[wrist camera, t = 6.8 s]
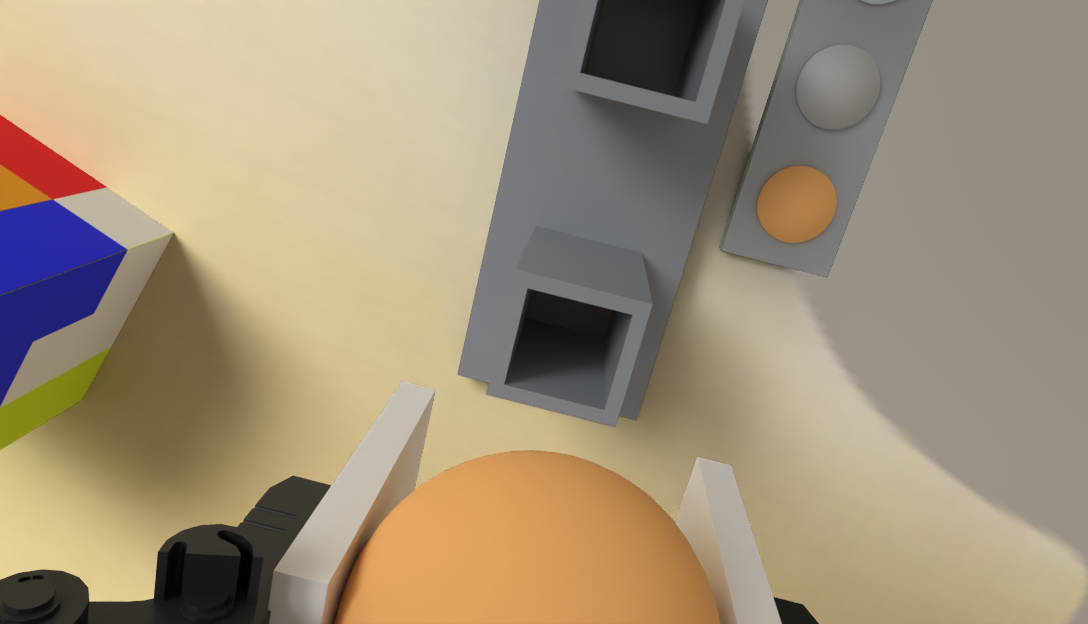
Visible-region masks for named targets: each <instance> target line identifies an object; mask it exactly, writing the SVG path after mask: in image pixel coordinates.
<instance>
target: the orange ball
mask: <svg viewBox="0 0 1088 624" xmlns="http://www.w3.org/2000/svg"><path fill="white" fill-rule="evenodd" d="M334 624H720V619H719V613H718V609H717V606H716V602H715V599H714V596H713V593H712V590H711V587H710V584H709V581H708V579H707V576H706V573H705V571H704V569H703V567H702V565H701V564H700V562H699V560H698V558H697V556H696V554H695V552H694V551H693V549H692V547H691V545H690V543H689V541H688V540H687V538H686V537H685V536H684V534H683V533H682V532H681V530H680V529H679V527H678V526H677V525H676V523H675V522H674V521H673V520H672V519H671V518H670V517H669V516H668V514H667V513H666V512H665V511H664V510H663V509H662V508H661V507H660V506H659V505H658V504H657V503H656V502H655V501H654V500H653V499H652V498H651V497H650V496H648V495H647V494H646V493H645V492H643V491H642V490H641V489H640V488H638V487H637V486H636V485H634V484H633V483H631V482H630V481H628V480H626V479H625V478H623V477H621V476H620V475H618V474H616V473H615V472H613V471H611V470H608V469H606V468H604V467H602V466H600V465H598V464H595V463H593V462H590V461H587V460H584V459H581V458H578V457H575V456H571V455H566V454H560V453H555V452H546V451H533V450H531V451H511V452H505V453H499V454H493V455H487V456H483V457H480V458H477V459H473V460H470V461H466V462H464V463H462V464H459V465H457V466H455V467H452V468H450V469H448V470H446V471H444V472H443V473H441V474H439V475H438V476H436V477H434V478H433V479H431V480H429V481H428V482H426V483H425V484H423V485H421V486H420V487H418V488H417V489H416V490H414V491H413V492H412V493H411V494H410V495H408V496H407V497H406V498H405V499H404V500H402V501H401V502H400V503H399V504H398V505H397V506H396V507H395V508H394V509H393V510H392V511H391V513H390V514H389V515H388V516H387V517H386V518H385V519H384V520H383V521H382V523H381V524H380V525H379V526H378V527H377V529H376V530H375V532H374V533H373V535H372V536H371V538H370V539H369V541H368V542H367V544H366V545H365V547H364V548H363V550H362V551H361V553H360V555H359V556H358V558H357V559H356V562H355V564H354V566H353V568H352V571H351V573H350V575H349V578H348V580H347V583H346V585H345V587H344V590H343V592H342V595H341V598H340V602H339V606H338V610H337V614H336V618H335V622H334Z"/></svg>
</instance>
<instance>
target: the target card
mask: <svg viewBox="0 0 1088 624" xmlns="http://www.w3.org/2000/svg"><path fill="white" fill-rule="evenodd" d="M932 1H933V0H800V2H799V5H798V8H797V11H796V14H795V17H794V20H793V23H792V26H791V29H790V32H789V35H788V39H787V41H786V44H785V48H784V51H783V54H782V57H781V60H780V63H779V66H778V69H777V72H776V75H775V78H774V81H773V85H772V87H771V91H770V94H769V97H768V100H767V103H766V106H765V109H764V112H763V115H762V118H761V121H760V124H759V127H758V130H757V134H756V137H755V140H754V143H753V146H752V149H751V152H750V155H749V158H748V161H747V164H746V167H745V170H744V173H743V177H742V180H741V183H740V186H739V189H738V192H737V195H736V198H735V201H734V204H733V207H732V210H731V213H730V216H729V220H728V223H727V226H726V229H725V232H724V235H723V238H722V241H721V244H720V247H719V248H720V249H721V251H725V252H728V253H732V254H736V255H740V256H744V257H748V258H752V259H756V260H760V261H764V262H768V263H772V264H776V265H780V266H784V267H787V268H791V269H795V270H799V271H803V272H808V273H811V274H816V275H819V276H823V277H828V275H829V272H830V269H831V267H832V264H833V262H834V259H835V256H836V254H837V251H838V248H839V246H840V243H841V241H842V238H843V235H844V233H845V230H846V227H847V225H848V222H849V219H850V217H851V214H852V212H853V209H854V206H855V204H856V201H857V198H858V196H859V193H860V190H861V188H862V185H863V183H864V180H865V177H866V175H867V172H868V169H869V167H870V164H871V161H872V159H873V156H874V153H875V151H876V148H877V146H878V143H879V141H880V138H881V135H882V133H883V130H884V127H885V125H886V122H887V119H888V117H889V114H890V111H891V109H892V106H893V104H894V101H895V98H896V96H897V93H898V90H899V88H900V85H901V83H902V80H903V77H904V74H905V72H906V69H907V66H908V64H909V62H910V59H911V56H912V54H913V51H914V48H915V46H916V43H917V40H918V38H919V35H920V32H921V30H922V27H923V25H924V22H925V19H926V17H927V14H928V11H929V9H930V6H931V4H932Z"/></svg>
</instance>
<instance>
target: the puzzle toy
mask: <svg viewBox="0 0 1088 624" xmlns="http://www.w3.org/2000/svg"><path fill="white" fill-rule="evenodd" d="M173 234H174V232H172V231H171V230H169V229H168V228H166V227H165V226H163V225H162V224H160V223H159V222H157V221H156V220H154V219H153V218H152V217H150V216H149V215H147V214H146V213H144V212H143V211H141V210H140V209H138V208H137V207H135V206H134V205H132V204H131V203H129V202H128V201H126V200H125V199H123V198H122V197H121V196H119V195H118V194H116V193H115V192H113V191H112V190H110V189H109V188H107V187H106V186H104V185H103V184H101V183H100V182H98V181H97V180H95V179H94V178H93V177H91V176H90V175H88V174H87V173H85V172H84V171H82V170H81V169H79V168H78V167H76V166H75V165H73V164H72V163H70V162H69V161H67V160H66V159H65V158H63V157H62V156H60V155H59V154H57V153H56V152H54V151H53V150H51V149H50V148H48V147H47V146H45V145H44V144H42V143H41V142H39V141H38V140H36V139H35V138H34V137H32V136H31V135H29V134H28V133H26V132H25V131H23V130H22V129H20V128H19V127H17V126H16V125H14V124H13V123H11V122H10V121H8V120H7V119H6V118H4V117H3V116H1V115H0V450H1V449H3V448H4V447H6V446H7V445H9V444H11V443H12V442H14V441H16V440H17V439H19V438H20V437H22V436H24V435H25V434H27V433H29V432H30V431H32V430H33V429H35V428H37V427H38V426H40V425H42V424H43V423H45V422H46V421H48V420H50V419H51V418H53V417H54V416H56V415H58V414H59V413H61V412H63V411H64V410H66V409H67V408H69V407H71V406H72V405H74V404H76V403H77V402H79V401H80V400H82V399H83V397H84V396H85V394H86V392H87V390H88V388H89V387H90V385H91V383H92V381H93V379H94V377H95V376H96V374H97V372H98V370H99V368H100V367H101V365H102V363H103V361H104V359H105V357H106V356H107V354H108V352H109V350H110V348H111V347H112V345H113V343H114V341H115V339H116V337H117V336H118V334H119V332H120V330H121V328H122V327H123V325H124V323H125V321H126V319H127V317H128V316H129V314H130V312H131V310H132V308H133V307H134V305H135V303H136V301H137V299H138V297H139V296H140V294H141V292H142V290H143V288H144V287H145V285H146V283H147V281H148V279H149V278H150V276H151V274H152V272H153V270H154V268H155V267H156V265H157V263H158V261H159V259H160V258H161V256H162V254H163V252H164V250H165V248H166V247H167V245H168V243H169V241H170V239H171V238H172V236H173Z"/></svg>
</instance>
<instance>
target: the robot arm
mask: <svg viewBox="0 0 1088 624" xmlns="http://www.w3.org/2000/svg"><path fill="white" fill-rule="evenodd" d="M435 391H436V390H435V389H431V388H427V387H423V386H419V385H415V384H412V383H408V382H404V381H402V382H401V384H400V385H399V387H398V388H397V390H396V391H395V393H394V394H393V396H392V397H391V399H390V400H389V402H388V403H387V404H386V406H385V407H384V409H383V410H382V412H381V413H380V415H379V416H378V418H377V419H376V421H375V422H374V424H373V425H372V427H371V428H370V430H369V431H368V432H367V434H366V435H365V437H364V438H363V440H362V441H361V443H360V444H359V446H358V447H357V449H356V450H355V452H354V453H353V455H352V456H351V457H350V459H349V460H348V462H347V463H346V465H345V466H344V468H343V469H342V471H341V472H340V474H339V475H338V477H337V478H336V480H335V481H334V482H333V484H332V485H327V484H323V483H319V482H316V481H312V480H308V479H304V478H300V477H296V476H292V477H290V478H288V479H286V480H284V481H282V482H280V483H278V484H276V485H274V486H272V487H270V488H269V489H268V491H267V492H266V493H265V494H264V495H263V497H262V498H261V499H260V500H259V501H258V503H257V504H256V505H255V508H254V509H252V510H251V511H250V512H249V514H248V515H247V516H246V517H245V518H244V521H243V523H240V524H239V526H238V527H233V526H228V525H223V524H215V525H200V526H197V527H193V528H190V529H186V530H183V531H181V532H179V533H178V534H176V535H174V536H173V537H171V538H169V539H168V540H167V541H166V542H165V543H164V545H163V546H162V547H161V549H160V550H159V551H158V557H157V569H156V581H155V592H154V599H149V600H145V601H131V602H89V592H88V587H87V586H86V585H85V583H84V582H83V581H82V580H81V579H80V578H79V577H77V576H74V575H72V574H69V573H66V572H64V571H55V570H35V571H29V572H22V573H17V574H15V575H12V576H9V577H7V578H4V579H1V580H0V624H334V622H335V618H336V614H337V610H338V606H339V602H340V598H341V595H342V592H343V590H344V587H345V585H346V583H347V580H348V578H349V575H350V573H351V571H352V568H353V566H354V564H355V562H356V559H357V558H358V556H359V555H360V553H361V551H362V550H363V548H364V547H365V545H366V544H367V542H368V541H369V539H370V538H371V536H372V535H373V533H374V532H375V530H376V529H377V527H378V526H379V525H380V524H381V523H382V521H383V520H384V519H385V518H386V517H387V516H388V515H389V514H390V513H391V511H392V510H393V509H394V508H395V507H396V506H397V505H398V504H399V503H400V502H401V501H402V500H404V499H405V498H406V497H407V496H408V495H410V494H411V493H412V492H413V491H414V490H415V485H416V480H417V476H418V471H419V466H420V462H421V457H422V452H423V447H424V443H425V438H426V433H427V428H428V424H429V419H430V414H431V410H432V405H433V400H434V395H435ZM675 523H676V525H677V526H678V527H679V529H680V530H681V532H682V533H683V534H684V536H685V537H686V538H687V540H688V541H689V543H690V545H691V547H692V549H693V551H694V552H695V554H696V556H697V558H698V560H699V562H700V564H701V565H702V567H703V569H704V571H705V573H706V576H707V579H708V581H709V584H710V587H711V590H712V593H713V596H714V599H715V602H716V606H717V609H718V613H719V619H720V624H818V622H817V621H816V620H815V619H814V617H813V616H812V615H811V614H810V613H809V611H808V610H807V609H806V608H805V607H804V605H802V604H798V603H794V602H791V601H787V600H783V599H779V598H775V597H773V595H772V592H771V589H770V586H769V582H768V579H767V576H766V573H765V570H764V567H763V564H762V561H761V558H760V554H759V551H758V548H757V545H756V542H755V539H754V536H753V533H752V530H751V526H750V523H749V520H748V517H747V514H746V511H745V508H744V505H743V502H742V499H741V495H740V492H739V489H738V486H737V483H736V480H735V477H734V474H733V471H732V467H731V465H728V464H724V463H720V462H716V461H712V460H708V459H705V458H701V457H697V459H696V462H695V465H694V468H693V471H692V473H691V476H690V479H689V482H688V485H687V488H686V491H685V494H684V496H683V499H682V502H681V505H680V508H679V511H678V514H677V517H676V520H675Z"/></svg>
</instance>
